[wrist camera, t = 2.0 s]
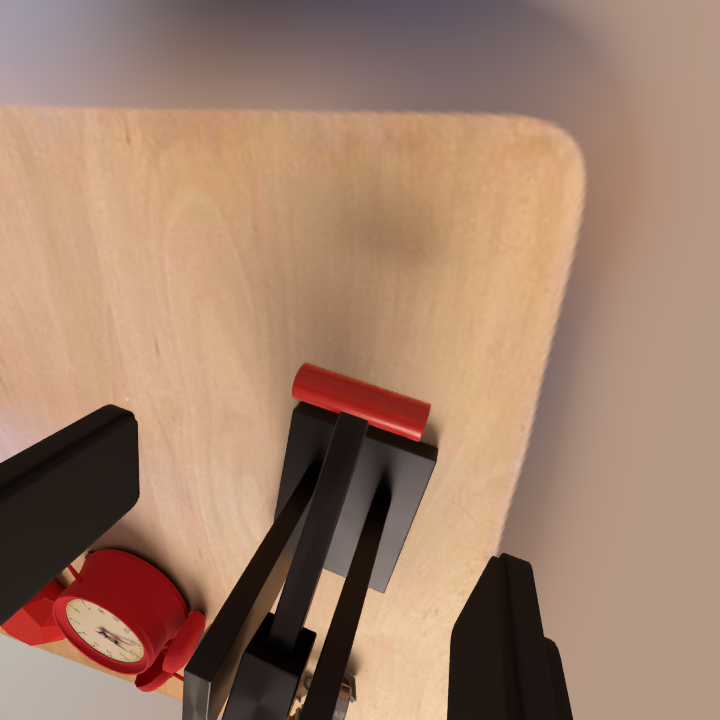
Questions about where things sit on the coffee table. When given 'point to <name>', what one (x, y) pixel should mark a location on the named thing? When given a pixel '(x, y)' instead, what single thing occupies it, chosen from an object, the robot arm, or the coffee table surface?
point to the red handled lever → (315, 539)
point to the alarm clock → (128, 618)
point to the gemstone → (36, 619)
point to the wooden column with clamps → (305, 685)
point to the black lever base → (345, 557)
